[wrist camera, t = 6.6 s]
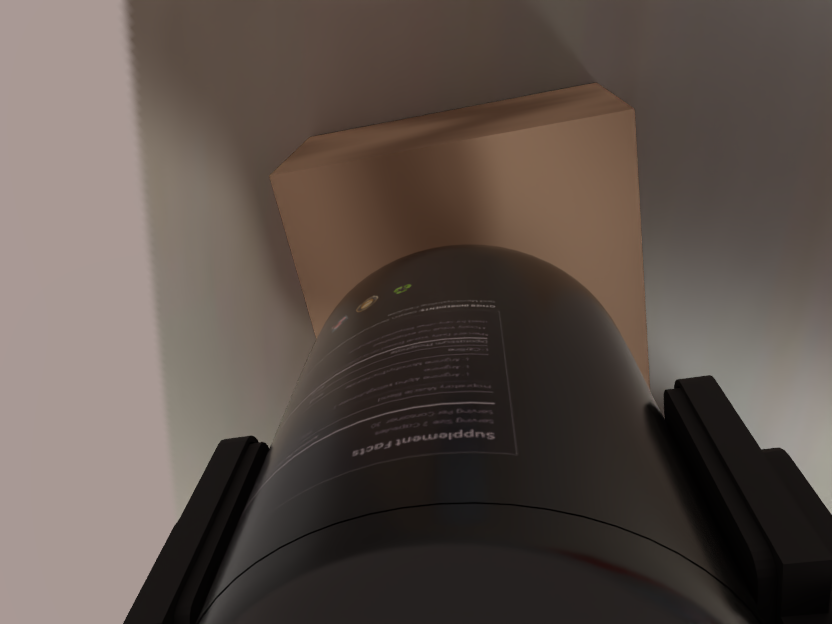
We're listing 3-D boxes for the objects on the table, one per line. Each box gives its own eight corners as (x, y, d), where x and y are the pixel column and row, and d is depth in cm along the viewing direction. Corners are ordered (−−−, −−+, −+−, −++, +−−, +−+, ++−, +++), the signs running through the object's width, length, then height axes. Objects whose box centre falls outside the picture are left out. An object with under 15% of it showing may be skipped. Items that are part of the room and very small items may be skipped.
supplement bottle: (679, 423, 15) (1282, 1596, 4) (421, 540, 17) (357, 1546, 6) (526, 162, 12) (976, 1277, 2) (248, 332, 14) (-378, 1360, 4)
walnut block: (596, 82, 20) (634, 109, 16) (616, 343, 24) (651, 424, 19) (309, 136, 21) (268, 175, 17) (371, 376, 25) (351, 460, 21)
